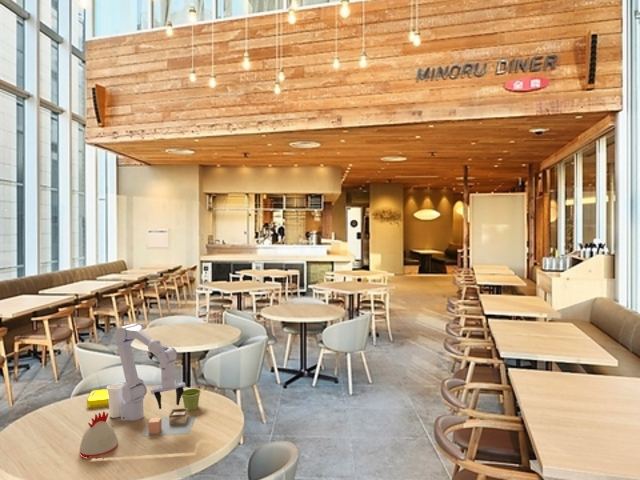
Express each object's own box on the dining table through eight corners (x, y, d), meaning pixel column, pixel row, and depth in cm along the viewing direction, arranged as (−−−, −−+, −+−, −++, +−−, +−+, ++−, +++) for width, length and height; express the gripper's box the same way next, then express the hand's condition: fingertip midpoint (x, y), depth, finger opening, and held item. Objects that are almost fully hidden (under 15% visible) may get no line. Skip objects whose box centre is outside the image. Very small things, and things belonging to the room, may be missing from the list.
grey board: (140, 438, 197) (140, 436, 197) (152, 420, 215) (151, 417, 215) (188, 436, 198) (188, 433, 198) (196, 417, 216) (196, 415, 216)
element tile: (91, 398, 243) (91, 389, 242) (122, 394, 247) (122, 386, 247) (86, 409, 228) (86, 400, 228) (119, 405, 233) (119, 396, 232)
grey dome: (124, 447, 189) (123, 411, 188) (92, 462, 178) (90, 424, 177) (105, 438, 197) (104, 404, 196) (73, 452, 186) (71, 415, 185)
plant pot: (189, 415, 219) (188, 397, 219) (177, 410, 225) (176, 392, 225) (205, 408, 227) (204, 391, 226) (193, 404, 233) (192, 387, 232)
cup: (129, 412, 223) (128, 383, 223) (120, 419, 215) (119, 389, 215) (113, 411, 224) (112, 382, 224) (104, 419, 216) (102, 388, 216)
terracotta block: (148, 433, 199) (148, 422, 198) (151, 429, 203) (151, 418, 203) (159, 433, 199) (158, 421, 199) (161, 428, 203) (161, 417, 203)
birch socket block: (169, 424, 208) (169, 415, 208) (172, 417, 215) (172, 408, 215) (185, 423, 209) (185, 414, 208) (188, 416, 216) (188, 408, 215)
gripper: (152, 382, 198) (153, 413, 199) (187, 375, 206) (187, 406, 207) (149, 377, 205) (150, 407, 205) (183, 371, 212) (183, 400, 213)
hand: (168, 406), depth 206 cm, fingers open, 7 cm apart
